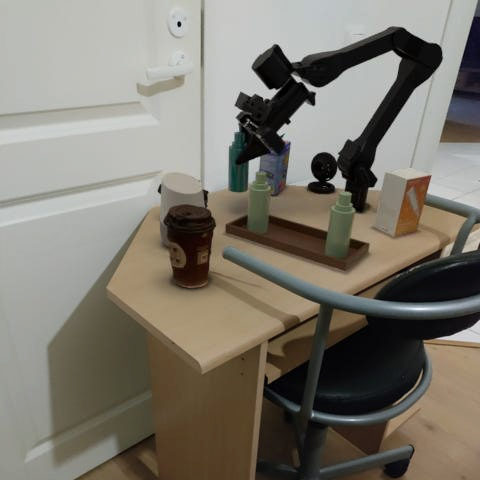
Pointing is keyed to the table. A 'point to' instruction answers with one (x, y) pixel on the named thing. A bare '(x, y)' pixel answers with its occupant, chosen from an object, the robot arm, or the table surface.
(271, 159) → the ink cartridge box
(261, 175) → the sage bottle
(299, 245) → the tray
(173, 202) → the smart speaker
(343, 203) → the sage bottle
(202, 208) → the coffee cup
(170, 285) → the table surface
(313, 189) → the webcam
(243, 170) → the teal bottle
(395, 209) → the small box
